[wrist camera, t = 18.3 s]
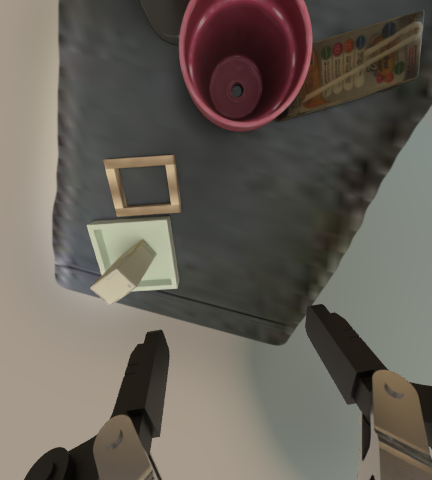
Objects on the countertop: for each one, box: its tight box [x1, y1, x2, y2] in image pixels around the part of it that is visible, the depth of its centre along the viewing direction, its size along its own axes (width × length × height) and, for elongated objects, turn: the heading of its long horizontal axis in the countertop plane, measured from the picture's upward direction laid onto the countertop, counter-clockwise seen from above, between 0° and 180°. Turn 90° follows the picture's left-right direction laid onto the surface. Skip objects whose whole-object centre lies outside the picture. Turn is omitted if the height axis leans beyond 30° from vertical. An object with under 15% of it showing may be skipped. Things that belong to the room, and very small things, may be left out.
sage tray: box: [87, 216, 179, 291], centre depth 42 cm, size 15×15×3 cm
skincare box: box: [91, 239, 156, 305], centre depth 37 cm, size 6×4×12 cm
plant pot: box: [179, 0, 312, 132], centre depth 27 cm, size 14×14×13 cm
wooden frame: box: [103, 155, 182, 217], centre depth 38 cm, size 10×12×2 cm
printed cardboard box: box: [274, 10, 424, 122], centre depth 30 cm, size 8×19×7 cm, turn 104°
